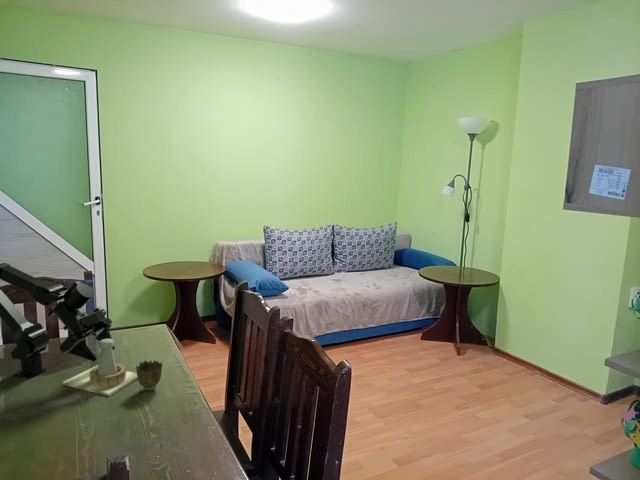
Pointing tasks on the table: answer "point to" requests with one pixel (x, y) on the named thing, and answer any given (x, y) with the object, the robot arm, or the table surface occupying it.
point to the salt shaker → (106, 358)
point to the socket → (102, 380)
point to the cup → (149, 374)
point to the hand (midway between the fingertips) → (105, 354)
